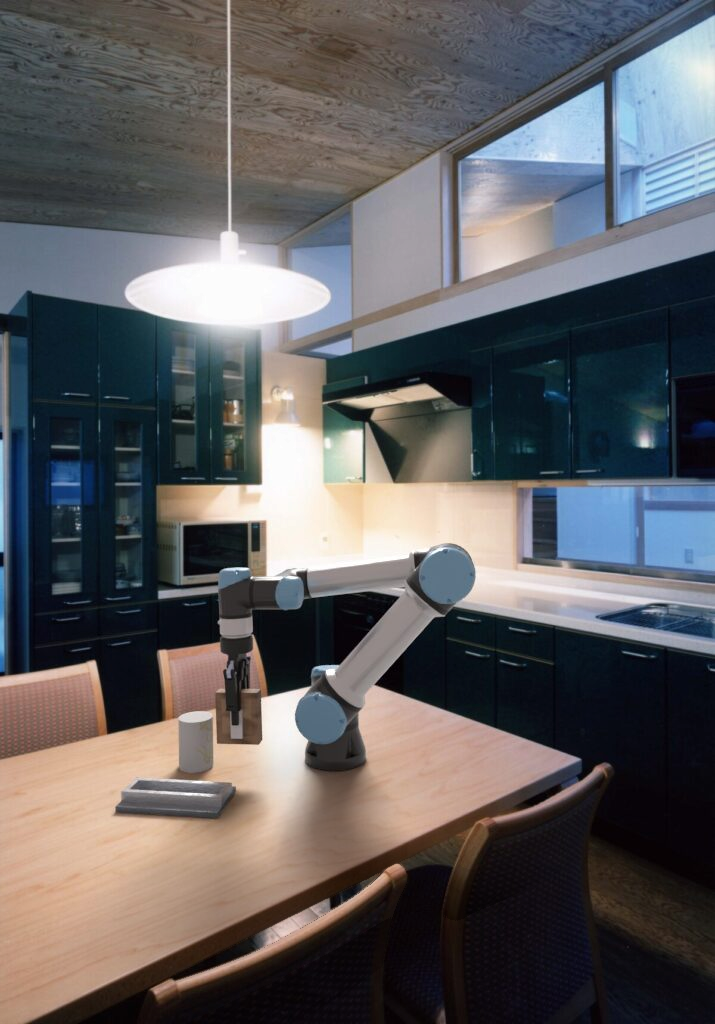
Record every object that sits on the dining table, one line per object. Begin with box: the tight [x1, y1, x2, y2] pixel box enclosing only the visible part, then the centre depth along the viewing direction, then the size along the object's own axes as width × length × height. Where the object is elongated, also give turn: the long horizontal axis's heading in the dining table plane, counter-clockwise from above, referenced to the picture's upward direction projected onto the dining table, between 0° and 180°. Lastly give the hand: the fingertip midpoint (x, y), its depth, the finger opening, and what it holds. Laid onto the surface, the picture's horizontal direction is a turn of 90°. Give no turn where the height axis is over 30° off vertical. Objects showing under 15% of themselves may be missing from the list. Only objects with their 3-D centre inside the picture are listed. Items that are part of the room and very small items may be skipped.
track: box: [114, 777, 237, 820], centre depth 140 cm, size 22×12×3 cm, turn 83°
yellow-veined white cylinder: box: [177, 710, 214, 774], centre depth 159 cm, size 8×8×12 cm
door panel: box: [214, 688, 263, 746], centre depth 152 cm, size 10×3×12 cm, turn 83°
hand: (239, 734), depth 152 cm, fingers closed on door panel, 3 cm apart
